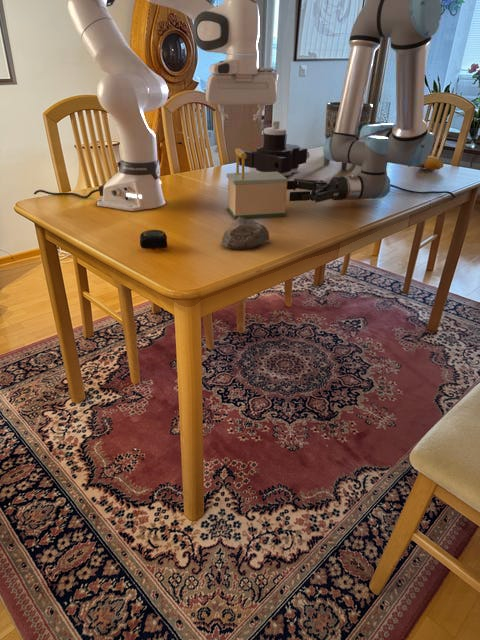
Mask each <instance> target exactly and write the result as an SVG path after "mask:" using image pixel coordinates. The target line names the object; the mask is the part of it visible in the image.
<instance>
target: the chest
mask: <svg viewBox="0 0 480 640" xmlns="http://www.w3.org/2000/svg"><path fill="white" fill-rule="evenodd" d="M227 185H228V186H227V189H228V190H227V194H228V195H227V197H228V198H227V210H228V211H229V213H230V214H231V216H232V217H233V219H234V220H237V218H238V217H242V218H245V219H258V218H275V217H286V206H287V205H286V204H287V191H288V190H287V182H286V183H262V184H237V185H234V184H233V183H232V182H231V181H230V180H229V179H228V178H227Z"/></svg>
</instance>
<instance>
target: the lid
mask: <svg viewBox="0 0 480 640" xmlns="http://www.w3.org/2000/svg"><path fill="white" fill-rule="evenodd" d="M234 153H235V155H236V157H235V159H236V161H235V165H236V166H235V167H236V168H235V172H227V173H226V178H227V180H228V179H229V180H230V181H231V182H232V183H233V184H234V185H237V184H262V183H286V182H287V181H288V178H287V177H286V176H283V175H281V174H280V173H279V172H256V171H255V172H245V166H244V165H245V158H246V157H247V155H246V154H245V153H244V152H243V151H242V149H240V148H238V147H237V148H235V150H234ZM239 157H240V158H242V166H241V172H240V165H239Z"/></svg>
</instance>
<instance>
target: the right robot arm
mask: <svg viewBox="0 0 480 640" xmlns="http://www.w3.org/2000/svg"><path fill="white" fill-rule="evenodd" d="M441 17H442V4H441V0H367V1H366V3H365V4H364V5H363V6H362V7H361V10H360V11H359V13H358V15H357V17H356V18H355V20H354V23H353V25H352V28H351V30H350V34H349V40H348V45H349V46H350V51H349V56H348V62H347V67H346V72H345V77H344V81H343V87H342V91H341V96H340V100H339V102H340V106H339V111H338V116H337V121H336V126H335V131H334V135H333V137H329V138H328V139H327V140H326V139H325V141H326V143H324V144H323V146H322V152H323V157H324V156H325V158H326V159H328V160H330V161H333V162H336V163H342V162H343V163H347V164H350V165H352V164H354V165H355V166H354V167H353V171H351V174H350V175H348V176H346V175H345V176H344V175H343V176H342V175H341V176H333V177H332V178H331V179H330V181H329V182H327V181H324V179H318V180H317V179H303V178H294V179H293V180H287V191H289V190H291V191H289V199H288V201H289V202H308V201H310V202H311V201H312V202H314V203H321V202H325V201H328V200H329V201H330V200H332V201H343V200H344V201H355V200H371V199H372V200H375V199H382V198H385V197H386V196H387V195H388V194H389V193H390V190H391V188H395V189H397V190H399V191H403V192H407V193H412V194H419V195H420V194H421V195H424V194H448V195H450V196H452V197H453V198H456V195H455V194H454V193H453V192H451V191H448V190H440V191H436V190H431V191H420V190H419V191H418V190H410V189H406V188H402V187H400V186H397V185H394V184H391V179H390V176H388V173H387V172H388V171H387V166H388V164H395V165H400V166H406V167H409V168H410V167H412V168H413V167H414V168H419V166H421V165H423V164H424V163H425V161H426V160H427V158H428V157H429V156H431V152H432V150H433V147H434V143H435V135H434V133H433V132H430V131H429V129H428V128H429V124H428V123H427V122H426V121H425V120H424V112H425V111H424V110H425V109H424V108H425V79H426V55H427V52H426V51H427V46H428V45H429V44H430V43H431V41H432V38H433V37H434V35H435V34H436V33H437V32H438V29H439V28H440V21H441V20H442V18H441ZM383 38H387V39H388V38H389V39H390V40H389V41H390V48H391V50H393V51H394V52H395V102H396V103H395V105H396V106H395V107H396V109H395V111H396V114H395V115H396V118H395V119H396V124H394V123H373V124H369V125H366V126H363V127H362V129H361V132H360V136H359V141H358V140H356V134H357V130H358V125H359V121H360V116H361V112H362V108H363V103H365V99H366V98H365V97H366V94H367V90H368V84H369V81H370V77H371V76H370V75H371V71H372V67H373V63H374V58H375V53H376V51H377V50H378V49H379V48H380V47H381V42H382V39H383ZM298 189H299V190H303V191H296V190H298Z"/></svg>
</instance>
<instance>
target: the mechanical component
mask: <svg viewBox="0 0 480 640" xmlns="http://www.w3.org/2000/svg"><path fill="white" fill-rule="evenodd" d="M287 138H288V129H287V128H286V127H280V121H279V120H272V126H271V127H265V128H264V129H263V145H262V146H258V147H257V148H256V151H250V150H245V149H241V151H243V152H244V153H245V154H246V155H247V157H246V158H245V165H244V168H250V169H255V172H279V173H280V174H281V175H283V176H284V177H286V176H291V175H292V173H298V171H299V167H300V165H303V164H304V165H305V164H307V160H309V158H310V156H311V154H310V152H309V151H308V148H304V147H301V146H299V145H297V144H290V143H287ZM239 167H242V158H240V157H239Z"/></svg>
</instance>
